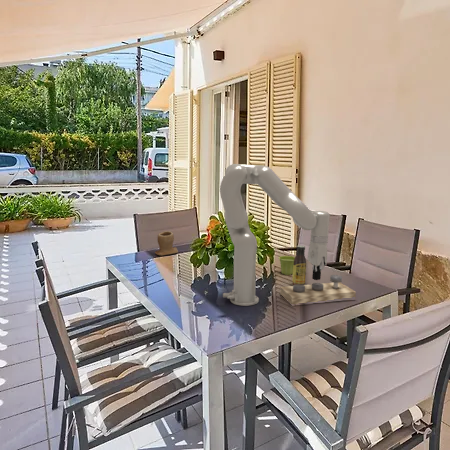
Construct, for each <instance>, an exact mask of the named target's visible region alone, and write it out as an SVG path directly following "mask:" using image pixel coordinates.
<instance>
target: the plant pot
mask: <svg viewBox="0 0 450 450" xmlns="http://www.w3.org/2000/svg"><path fill="white" fill-rule="evenodd" d="M295 257H296V256H293V255H281V256H279V257H278V259H279V263H280V272H281V274H283V275H285V276H290V275H293V264H294V259H295Z"/></svg>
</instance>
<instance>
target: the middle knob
mask: <svg viewBox="0 0 450 450" xmlns="http://www.w3.org/2000/svg"><path fill="white" fill-rule="evenodd" d="M311 284H312V290H315V291H322V290H323V287H324V285H323V284H322V283H321V282H313V283H311Z"/></svg>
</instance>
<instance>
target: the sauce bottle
mask: <svg viewBox="0 0 450 450" xmlns="http://www.w3.org/2000/svg"><path fill="white" fill-rule="evenodd" d="M305 250H306V246H305V245H296V256H294V257H295V259H294V264H293V274H292V281H291V282H292V286H293V285H296V284H300V285H306V284H305V283H306V274H307V258H306V255H305V252H306V251H305Z"/></svg>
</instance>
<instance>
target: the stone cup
mask: <svg viewBox="0 0 450 450" xmlns="http://www.w3.org/2000/svg"><path fill="white" fill-rule="evenodd" d="M174 240H175V235H174V233H173V232H172V231H169V230H168V231H167V230H165V231H162V232H159V233H158V234H157V244H158V246H159V247H158V248H159V249H158V250H156V251H154V253H155V255H157V256H161V257H162V256H168V255H173V254H178V253H179V250H178V248H177V247H176V246H174V245H173V244H174ZM173 246H174V247H173Z"/></svg>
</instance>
